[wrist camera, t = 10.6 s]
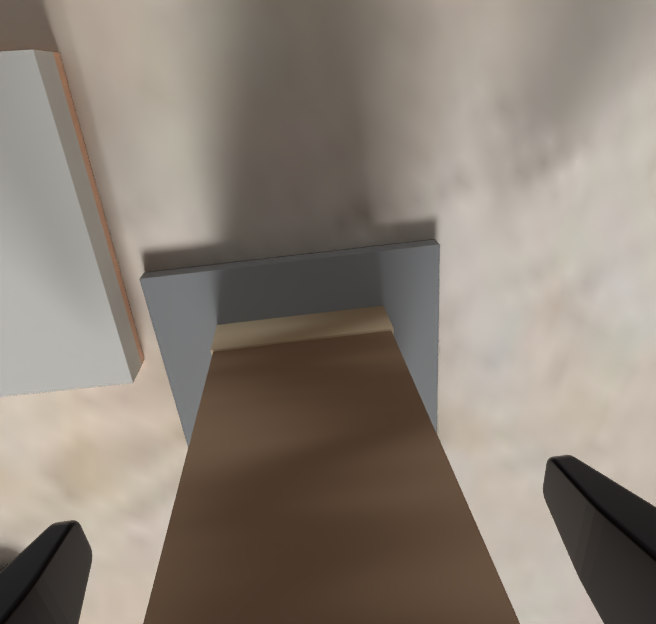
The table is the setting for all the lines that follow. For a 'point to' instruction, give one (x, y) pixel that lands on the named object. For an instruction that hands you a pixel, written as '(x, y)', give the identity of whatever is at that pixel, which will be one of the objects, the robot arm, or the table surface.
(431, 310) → the pad
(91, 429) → the table surface
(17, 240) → the tile
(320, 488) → the wooden post stub
